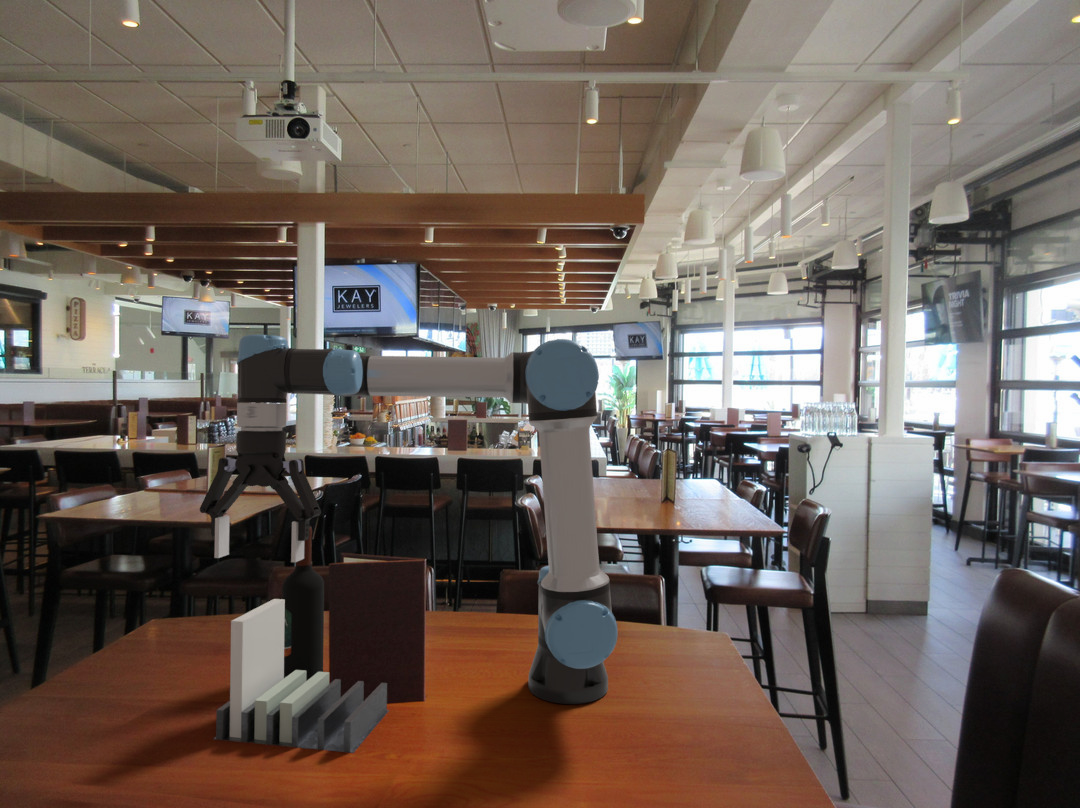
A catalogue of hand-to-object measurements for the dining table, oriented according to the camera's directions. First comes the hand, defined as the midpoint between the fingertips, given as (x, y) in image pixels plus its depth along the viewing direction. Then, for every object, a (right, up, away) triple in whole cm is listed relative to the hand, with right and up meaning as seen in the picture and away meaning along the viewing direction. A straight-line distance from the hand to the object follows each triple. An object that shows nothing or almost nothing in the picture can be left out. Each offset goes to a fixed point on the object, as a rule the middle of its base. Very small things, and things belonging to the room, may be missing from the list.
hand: (259, 558), depth 108 cm
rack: (+8, -28, -1) cm, 29 cm away
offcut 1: (+4, -26, -1) cm, 27 cm away
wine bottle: (+1, -28, +17) cm, 33 cm away
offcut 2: (+8, -27, -1) cm, 28 cm away
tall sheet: (0, -26, 0) cm, 26 cm away
